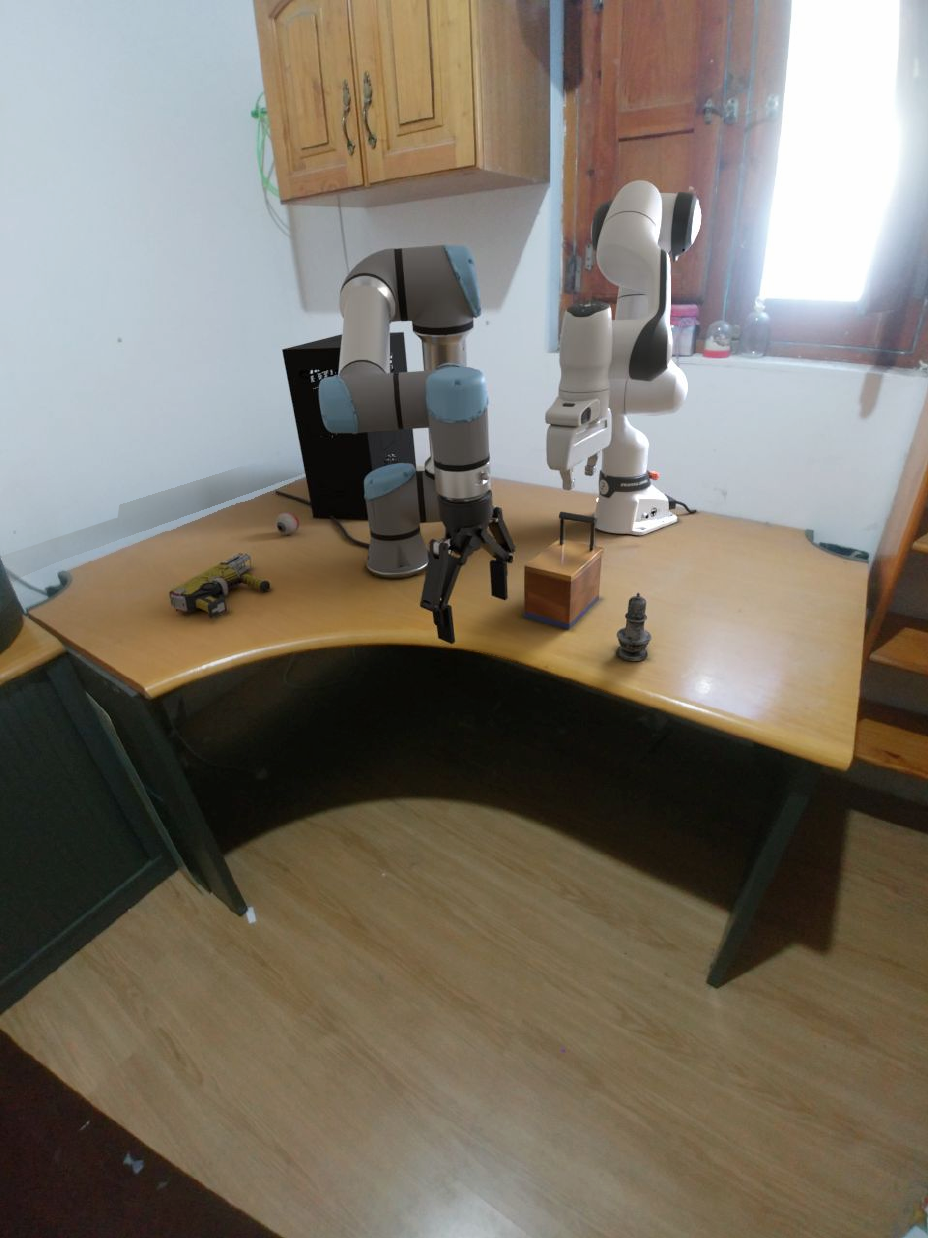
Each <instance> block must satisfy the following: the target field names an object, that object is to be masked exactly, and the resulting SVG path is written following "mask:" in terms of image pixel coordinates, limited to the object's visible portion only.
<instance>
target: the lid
mask: <svg viewBox="0 0 928 1238" xmlns="http://www.w3.org/2000/svg"><path fill="white" fill-rule="evenodd" d="M558 518H559V538H558V540H556V541H555V542H553V543H552V544H551V545H549V546H548V547H547V548H545V549H544V550H543V551H541V552H540V553H539V554H538V555H536V556H534V557H533V558H532V559H531V560H530V561H528V562H527V563H526V564H524V565H523V572H524V571H528V572H532V573H536V574H540V575H545V576H549V577H553V578H557V579H562V580H566V581H570V582H571V581H572V580H574V579H575V578H576V577H577V576H578V575H579V574H580V573H581V572H583V571H584V570H585V569H586V568H587V567H588V566H589V565H590V564H592V563H593V562H594V561H595V560H596V559H597V558H598V557H599V556H601V555H602V556H603V554H604V552H605V547H602V546H597V545H595V537H596V528H595V525H596V523H597V518H596V517H594V516H589V515H584V514H578V513H573V512H567V511H559V514H558ZM566 521H571V522H575V523H581V524H586V525H590V533H589V544H587V543H582V542H577V541H572V540H567V539H565V528H566V527H565V525H566Z"/></svg>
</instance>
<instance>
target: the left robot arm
mask: <svg viewBox="0 0 928 1238" xmlns="http://www.w3.org/2000/svg"><path fill="white" fill-rule="evenodd" d="M475 263H476V262H475V259H474V255H473V253H472V250H471V249H470V248H469V247H468V246H466V245H457V244H456V245H455V244H437V245H436V244H435V245H424V246H423V245H422V246H413V247H400V248H399V247H398V248H395V247H392V248H384V249H381V250H377V251H376V252H373V253H370V254H369V255H367V256H366V257H365V258H363V259H362V260H360V262H358V263H357V264H356V265H355V266H354V267H353V268H352V269H351V270H350V272H349V273H348V274H347V275H346V277H345V278H344V281H343V283H342V285H341V287H340V291H339V298H338V299H339V302H338V305H339V306H338V307H339V311H340V314H341V316H342V318H343V319H342V320H343V321H342V333H341V334H342V341H341V351H340V361H339V372H338V375H335V376H333V377H327V376H326V377H327V378H324V379H322V380H321V381H320V384H319V402H320V409H321V414H322V419H323V422H324V425H325V427H326V429H327V430H328V431H329V432H332V433H352V434H357V433H362V432H374V431H386V430H399V429H400V430H401V429H413V430H416V429H428V440H429V453H430V456H429V457H428V458H427V459H426V460H425V461H424V467H423V468H424V470H417V468H416V469H415V468H414V466H413V465H412V464H409V463H406V464H404V463H398V464H392V465H387V466H384V467H381V468H378V469H376V470H374V471H372V472H370V473H369V474H368V475H367V476H366V478H365V480H364V490H365V495H364V498H365V499H366V505H367V512H368V519H367V521H368V526H369V527H368V528H369V534H370V539H369V543H366V542H363V541H360V540H357V539H355V538H353V537H352V536H350V535H349V533H348V532H347V530H346V528H345V527H343V525H342V524H341V523H340V521H339V520H338V518H335V517H334V516H333V515H330V517H331V518H330V519H331V520H332V521H333V522H334V523H335V524H336V525H337V526H338V528H339V530H341V532H342V533H343V535H344V537H345V538H346V539H347V540H348V541H350V542H352V543H353V544H355V545H359V546H362V547H365V548H368V551H367V556H366V569H367V572H368V573H370V574H371V575H373V576H374V577H377V578H381V579H389V580H392V579H394V580H397V579H405V578H411V577H415V576H417V575H420V574H422V573H424V572H425V571H426V572H425V577H424V582H423V586H422V592H421V597H420V601H419V607H420V608H422V609H424V610H427V611H429V612H432V618H433V619H432V620H433V624H434V626H436V632H437V639H439V640H440V641H443V642H446V643H447V644H449V645H450V644H451V645H453V644H454V643H456V638H455V636H456V635H455V627H454V618H453V617H454V616H453V607H452V605H450V604H449V601H450V599H451V597H452V594H453V590H454V588H455V585H456V583H457V580H458V577H459V574H460V571H461V569H462V567H464V566H465V565H466V563H467V561H468V558H469V557H470V556H472V555H473V554H474V552H477V551H479V550H480V549H483V550H484V551H485V552H486V553H487V554H488V555H490V556H491V557H492V558H493V559H491V560H490V561H489V573H490V591H491V593H490V594H491V597H494V598H497V599H500V600H501V601H502V600H503V601H507V600H508V599H509V597H508V596H509V595H508V576H509V575H508V574H509V571H508V564H512V563H513V562H514V559H515V557H514V555H511V554H515V553H516V551H517V547H516V544H515V542H514V540H513V538H512V536H511V533H510V532H509V530H508V526H507V525H506V522H505V521H504V515H503V509H502V507H500V506H495V505H493V491H492V490H491V488H492V475H491V474H492V473H491V457H490V456H491V453H490V440H489V439H490V436H489V433H490V432H489V412H488V411H489V410H488V409H489V407H488V406H489V396H488V390H487V383H486V381H487V380H486V377H485V374H484V372H482V371H481V370H480V369H479V368H478V369H477V368H474V367H470V366H468V356H467V355H468V354H467V338H468V336H469V334H470V333H471V332H472V331H473V330H474V328H475V327H474V325H475V323H474V319H477V318H479V317H481V316H482V303H481V302H482V301H481V293H480V286H479V280H478V279H479V278H478V274H477V269H476V264H475ZM394 322H402V323H403V322H411V326H412V327H411V329H412V333H414V334H415V335H416V337H418V338H419V340H420V341H421V351H422V365H423V370H417V371H407V372H401V373H399V372H397V373H390V363H391V360H390V358H391V357H390V333H391V331H390V329H391V328H390V327H391V324H392V323H394ZM416 470H417V471H416ZM275 494H277V495H280V496H283V497H287V498H289V499H293V500H296V501H299V502H302V503H304V504H307V505H309V506H311V502H310V500H307V499H304V498H301V497H299V496H296V495H292V494H290V493H289V494H288V493H286V492H283V491H280V490H275ZM429 523H430V524H431V523H442V525H443V527H444V536H443V537H442V538H440V539H439V540H438V539H435V538H432V539H430V541H429V543H428V548H429V549H428V548H427V546H426V542H425V540H424V537H423V534H422V531H421V524H429ZM488 529H489V530H490V533H491V534H490V533H489V531H488ZM453 553H454V554H455V555H457V556H458V557H457V556H454V555H452V554H453Z"/></svg>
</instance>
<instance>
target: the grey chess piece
mask: <svg viewBox="0 0 928 1238" xmlns="http://www.w3.org/2000/svg"><path fill="white" fill-rule="evenodd" d="M627 604H628V605H627V612H626V613H625V614H624V618H625V619H626V621H625V626H624V627H622V628H620V629H618V631H617V632H616V638H617V641H618V643H619V646H618V647H617V649H616V654H617V656H618V657H620V658H621V659H623V660H626V661H629V662H638V661H643V660H645V659H646V658H648V655H649V653H648V650H647V649H646V648H647V647H648V645H649V643H650V642H651V641H652V634H651V633H650V632H649V631H648V630H647V629H645V622H646V621H647V619H648V616H647V614H646V609H647V601H646V599H645V598H644V597H642V596H641V593H640V592H637V593H636V595H635V596H631V597H630V598H629V600H628V603H627Z"/></svg>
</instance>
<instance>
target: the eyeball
mask: <svg viewBox="0 0 928 1238" xmlns="http://www.w3.org/2000/svg"><path fill="white" fill-rule="evenodd" d="M299 525H300V522H299V519H298V517H297V516H296V515H295V514H294V513H292V512H287V511H286V512H282V513H280V514H279V515H278V516H277V517H276V520H275V527H276V529H277V530H278V531H279V532H280V533H281V534H282V535H285V536H286V535H287V536H289V535H293V534H295V533H296V532H297V531H298V529H299Z"/></svg>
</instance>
